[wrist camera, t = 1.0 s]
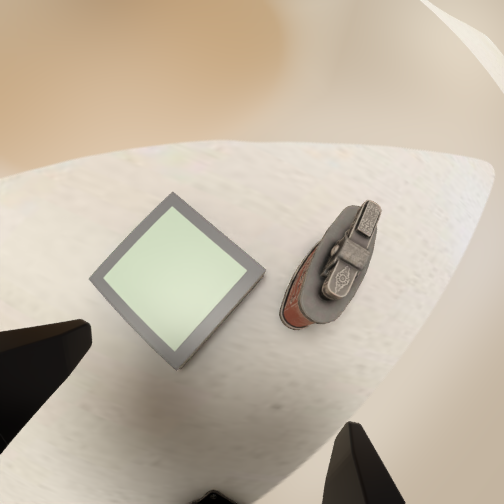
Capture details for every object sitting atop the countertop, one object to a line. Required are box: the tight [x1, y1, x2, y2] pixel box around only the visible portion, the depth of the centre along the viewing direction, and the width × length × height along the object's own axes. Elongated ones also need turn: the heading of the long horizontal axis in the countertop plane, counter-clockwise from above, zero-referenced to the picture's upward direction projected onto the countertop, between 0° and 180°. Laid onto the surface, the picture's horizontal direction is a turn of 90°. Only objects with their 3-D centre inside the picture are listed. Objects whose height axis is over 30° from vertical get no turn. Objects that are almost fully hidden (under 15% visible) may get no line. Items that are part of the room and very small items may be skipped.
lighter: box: [279, 200, 381, 330], centre depth 19 cm, size 8×3×10 cm, turn 150°
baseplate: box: [89, 192, 266, 371], centre depth 23 cm, size 10×10×2 cm
